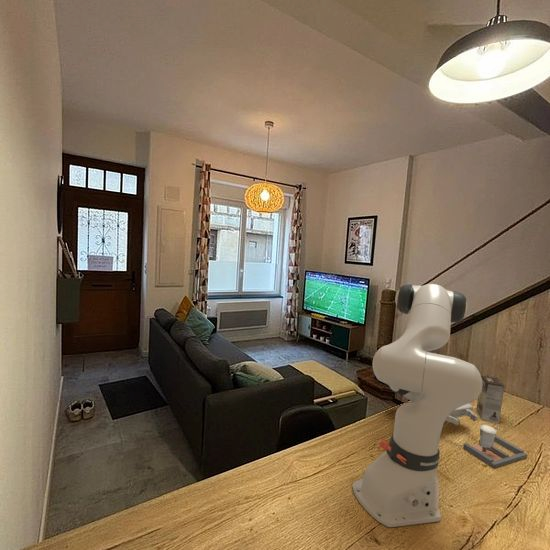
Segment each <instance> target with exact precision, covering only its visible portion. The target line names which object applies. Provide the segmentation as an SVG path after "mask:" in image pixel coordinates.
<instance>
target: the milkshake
mask: <svg viewBox="0 0 550 550" xmlns="http://www.w3.org/2000/svg"><path fill="white" fill-rule="evenodd" d="M500 427H501V426H499V425H498V427H497V428H496V429H495V428H494V427H492V426H490V425H487V424H482V425H480V427H479V429H480V430H479V437H480V438H479V440H480V446H479V451H481V452H482V453H484V454H485V455H487V456H490V455H491V452H492V448H493V446H494V444H495V442H494V440H495V437H496V436H497V431H498V430H499V428H500Z"/></svg>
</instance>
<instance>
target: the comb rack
mask: <svg viewBox="0 0 550 550" xmlns="http://www.w3.org/2000/svg"><path fill="white" fill-rule="evenodd" d="M494 443H496V444H498V445H499V446H501V447H503V448H504V449H507V450H509V451H510V452H512V453H514V454H513V455H509V454H508V453H506V452H505V451H503V450H502V449H500V448H498V447H496V446H494V445H493V448H492V452H491V455H490V456H487V455H485V454H484V453H482V452H481V451H479V446H480V439H478V444H474V445H471V444H469V443H467V442H465V443H463V446H462V449H463V450H465V451H466V452H468V453H469V454H470V455H472V456H474V457H475V458H477V459H478V460H480V461H481V462H483V463H484V464H487V466H490V467H491V468H492V469H496V468H499V467H503V466H505V465H509V464H511V463H515V462H518V461H521V460H524V459H527V458H528V454H527V453H525V452H524V451H525V450H523V449H522V448H520V447H518V446H516V445H515V444H513V443H511V442H509V441H507V440H505V439H504V438H502V437H500V436H498V435H496V437H495V440H494Z"/></svg>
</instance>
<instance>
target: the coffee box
mask: <svg viewBox="0 0 550 550" xmlns="http://www.w3.org/2000/svg"><path fill="white" fill-rule="evenodd" d="M480 375H481V374H480ZM481 378H482V390H481V393H480V395H479V396H478V398H477V403H476V410H475V411H476V412H477V414H478V416H479V417H480V418H481V420H482V421H485V422H486V421H487V422H489V423H490V422H491V423H495V424H500V418H501V412H502V405H503V399H504V394H505V393H504V392H505V387H506V386H505V385H504V383H503V382H502V381H501V380H500V379H499V378H498V377H494V376H486V375H481Z"/></svg>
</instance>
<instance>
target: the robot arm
mask: <svg viewBox="0 0 550 550" xmlns="http://www.w3.org/2000/svg"><path fill="white" fill-rule="evenodd" d="M394 299H395V300H394V302H395V306H396V309H397V311H399V312H400V313H402V314H404V315H409V317H408V322H407V326H406V329H405V331H404V333H403V334H402V335H401V336H400V337H399V338H398V339H397V340H395V341H393V342H391V343H389V344H387V345H383V346H381V347H380V348H379V349H378V350H377V351H376V352H375V354H374V355H373V357H372V358H373V359H372V364H371V365H372V371H373V374H374V376H375V377H376V379H377V380H378V381H380V382H382V383H384V384H385V385H387V386H388V387H389V389H390V390H391V391H392V392H393V393H395V394H398V395H401V396H404V398H406V399H407V400H409V401H408V402H405V403H403V404H401V405H400V406H399V407H398V408H397V410H396V412H395V418H394V424H393V425H394V426H393V433H392V434H391V435H390V436H391V437H390V439H389V440H388V441H386V440H385V439H382V440H380V442H379V447H381V448H382V449H384V451H383V452H382V453H381V454H380V455H379V456H378V457H377V458H375V460H374V461H372V462H371V463H370V464H369V465H368V466H367V467H366V468H365V471H364V473H363V477H361V478H359V479H358V480H356V481H354V482H353V483H352V491H353V494H354V496H355V498H356V499H357V501H358V502H359V503H360V505H361V507H363V508H364V510H365V511H366V512H367V513H368V514H369V515H370V516H371V517H372V518H373V519H375V521H377V522H378V523H380V524H382V525H384V526H385V527H387V528H395V527H403V526H404V527H405V526H413V525H418V524H419V525H420V524H428V523H435V522H437V523H438V522H440V521H442V515H441V511H440V509H439V503H440V502H439V493H440V490H439V485H440V484H439V478H438V472H437V468H438V467H439V461H440V457H441V456H440V454H441V453H440V448H439V446H440V440H441V434H442V431H443V427H444V423H445V422H448V423H451V424H454V425H456V426H457V425H460V423H461V419H459V418H460V417H461V418H462V417H469V419H470V420H471V421H473V422H475V421H478V419H479V417H478V416H479V415H477V414H476V413H474V412H473V411H474V410H473V408H474V407H473V405H472V404H471V403H473V402H474V401H476V400H478V396H479V395H480V393H481V390H482V378H481V373H480V371H479V369H478V368H477V367H476V365H475V364H473V363H471V362H467V361H466V360H463V359H460V358H457V357H454V356H450V355H445V354H441V353H440V354H438V353H435V352H432V351H435V350H439V349H441V348H443V347H444V346H445V345H446V344H448V342H449V340H450V338H451V327H452V324H453V323H460V322H461V321H463V320H464V318H465V317H466V315H467V312H468V308H469V307H468V301H467V297H466V295H464V293H462V292H459V291H455V290H452V291H451V290H448V289H446V288H445V287H443V286H442V285H440V284H436V283H427V284H424V285H413V284H403V285H401V286H400V287H399V289H398V291H397V292H396V294H395V298H394ZM451 323H452V324H451Z"/></svg>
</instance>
